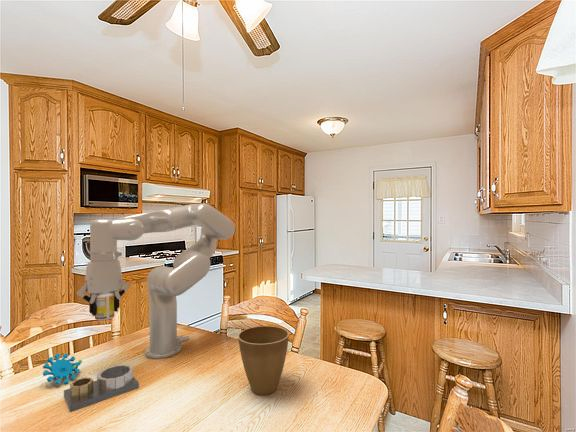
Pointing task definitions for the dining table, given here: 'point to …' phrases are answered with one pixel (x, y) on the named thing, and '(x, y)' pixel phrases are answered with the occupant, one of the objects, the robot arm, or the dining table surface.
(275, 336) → the plant pot
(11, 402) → the dining table surface
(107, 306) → the supplement bottle
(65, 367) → the blue virus model
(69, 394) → the fitting plate
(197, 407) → the dining table surface
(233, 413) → the dining table surface
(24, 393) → the dining table surface
